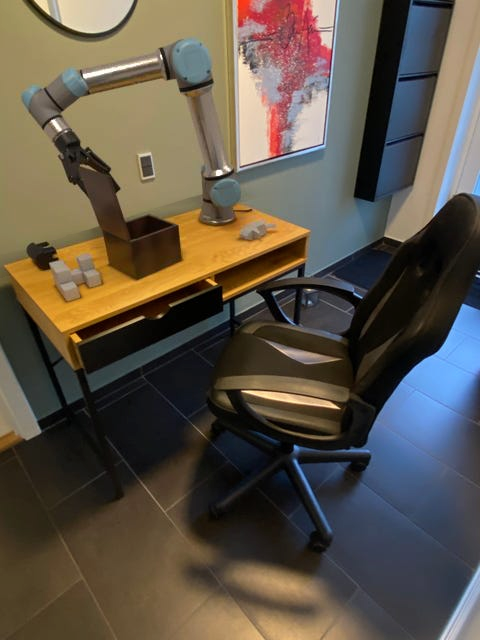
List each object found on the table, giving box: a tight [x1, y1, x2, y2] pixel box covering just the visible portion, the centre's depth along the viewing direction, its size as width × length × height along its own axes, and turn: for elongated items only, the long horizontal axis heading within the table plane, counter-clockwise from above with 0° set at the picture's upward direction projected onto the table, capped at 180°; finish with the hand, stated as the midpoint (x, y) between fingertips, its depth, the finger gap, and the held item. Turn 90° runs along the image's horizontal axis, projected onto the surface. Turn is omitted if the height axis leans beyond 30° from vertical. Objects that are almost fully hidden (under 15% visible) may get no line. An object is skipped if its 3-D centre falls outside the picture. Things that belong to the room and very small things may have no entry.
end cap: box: [25, 241, 60, 270], centre depth 135 cm, size 10×7×7 cm
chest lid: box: [77, 165, 131, 241], centre depth 117 cm, size 20×16×1 cm
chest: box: [101, 213, 183, 281], centre depth 134 cm, size 19×16×13 cm
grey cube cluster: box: [49, 252, 103, 302], centre depth 121 cm, size 12×12×8 cm
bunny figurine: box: [238, 218, 277, 242], centre depth 155 cm, size 10×5×15 cm
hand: (106, 195), depth 130 cm, fingers open, 13 cm apart
